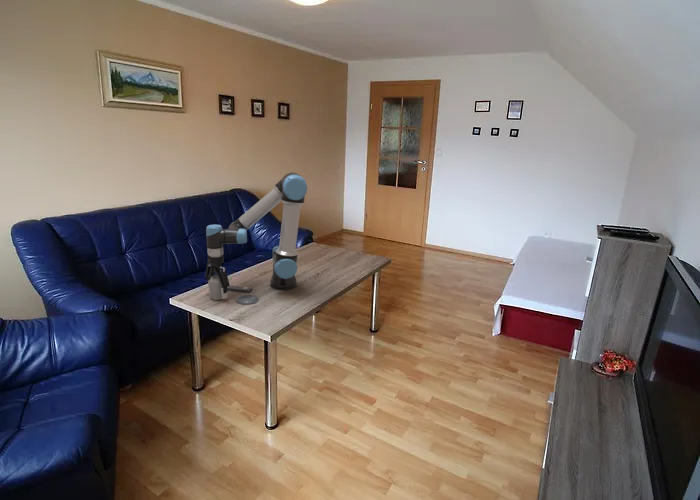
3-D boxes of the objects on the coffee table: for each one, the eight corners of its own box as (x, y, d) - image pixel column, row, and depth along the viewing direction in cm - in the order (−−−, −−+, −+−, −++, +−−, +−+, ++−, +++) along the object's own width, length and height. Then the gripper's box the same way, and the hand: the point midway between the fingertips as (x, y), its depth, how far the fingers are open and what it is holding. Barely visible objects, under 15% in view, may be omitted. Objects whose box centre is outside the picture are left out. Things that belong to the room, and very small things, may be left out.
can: (226, 294, 214) (225, 273, 211) (225, 300, 207) (223, 278, 204) (211, 295, 212) (210, 274, 209) (209, 301, 206) (208, 279, 202)
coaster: (249, 294, 216) (249, 293, 216) (262, 300, 209) (262, 299, 209) (232, 300, 208) (232, 299, 208) (245, 306, 201) (245, 305, 201)
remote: (225, 291, 220) (224, 287, 219) (228, 288, 224) (228, 284, 223) (249, 294, 217) (248, 289, 217) (252, 291, 221) (252, 287, 220)
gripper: (196, 251, 207) (199, 290, 214) (222, 262, 193) (224, 303, 199) (209, 248, 213) (211, 286, 219) (235, 258, 199) (237, 299, 205)
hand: (217, 294), depth 209 cm, fingers open, 11 cm apart
